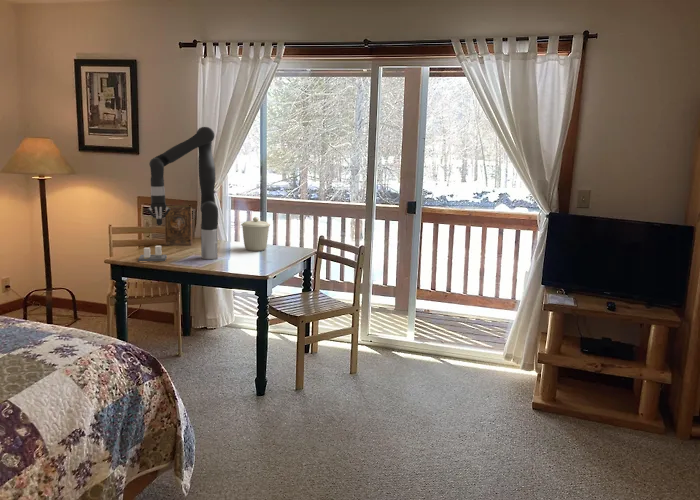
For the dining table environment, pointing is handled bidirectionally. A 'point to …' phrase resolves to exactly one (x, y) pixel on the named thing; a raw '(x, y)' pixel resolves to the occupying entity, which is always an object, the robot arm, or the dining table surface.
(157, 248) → the tab
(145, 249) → the tab
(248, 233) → the canister
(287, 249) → the dining table surface
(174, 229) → the book
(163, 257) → the switch board
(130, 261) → the dining table surface
